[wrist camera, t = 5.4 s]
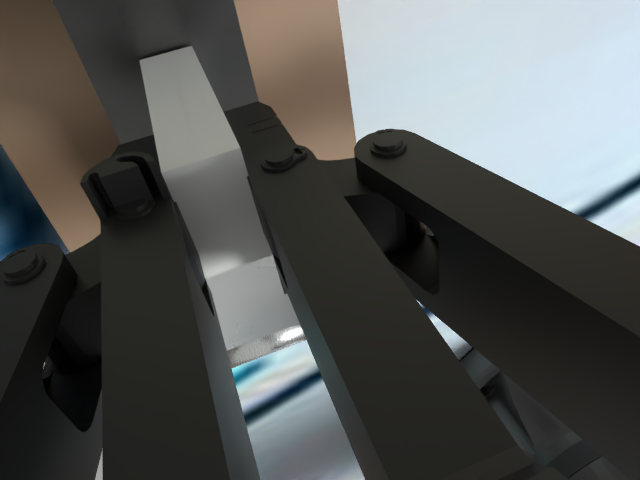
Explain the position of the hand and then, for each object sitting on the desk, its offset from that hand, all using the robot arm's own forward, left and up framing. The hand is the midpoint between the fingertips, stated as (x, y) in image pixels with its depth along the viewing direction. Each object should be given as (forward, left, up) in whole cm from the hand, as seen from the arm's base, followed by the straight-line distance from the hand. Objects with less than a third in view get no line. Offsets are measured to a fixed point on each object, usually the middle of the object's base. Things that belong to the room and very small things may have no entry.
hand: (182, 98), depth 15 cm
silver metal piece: (-5, 0, -2) cm, 5 cm away
